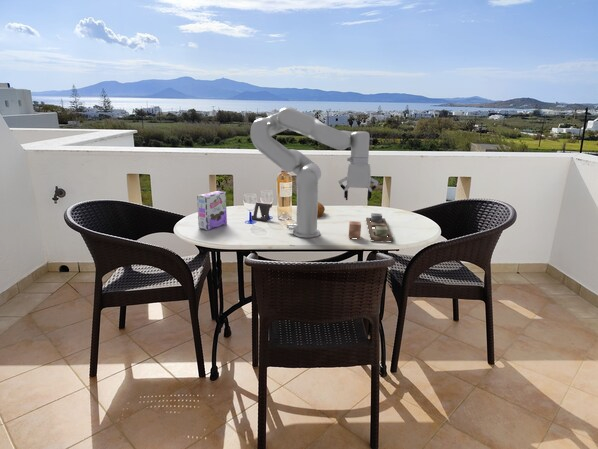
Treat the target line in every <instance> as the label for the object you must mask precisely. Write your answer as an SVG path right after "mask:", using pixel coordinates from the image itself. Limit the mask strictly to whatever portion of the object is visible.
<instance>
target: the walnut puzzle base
mask: <svg viewBox="0 0 598 449" xmlns="http://www.w3.org/2000/svg"><path fill="white" fill-rule="evenodd" d="M370 214H371V215H370V217H365V219H366V220H365V222H366V221H367V223H366V226H367V225H368V227H367V230H368V229H369V231H368V234H370V235H369V238H371V239H370V241H371V240H374V241H393V242H394V236H393V234H392V233H391V229H390V228H389V225H388V223H387V221H386V218H385V217H384V218H383V214H382V213H373V212H372V213H370ZM370 221H371V222H370ZM372 227H375V229H372ZM374 235H375V236H374ZM387 236H388V237H387Z"/></svg>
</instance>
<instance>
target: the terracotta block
mask: <svg viewBox="0 0 598 449" xmlns="http://www.w3.org/2000/svg"><path fill="white" fill-rule="evenodd" d="M348 225H349V226H348V239H349V238H357V239H360V240H361V232H362V222H361V221H354V220H353V221H351V220H350V221H349V222H348Z"/></svg>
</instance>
